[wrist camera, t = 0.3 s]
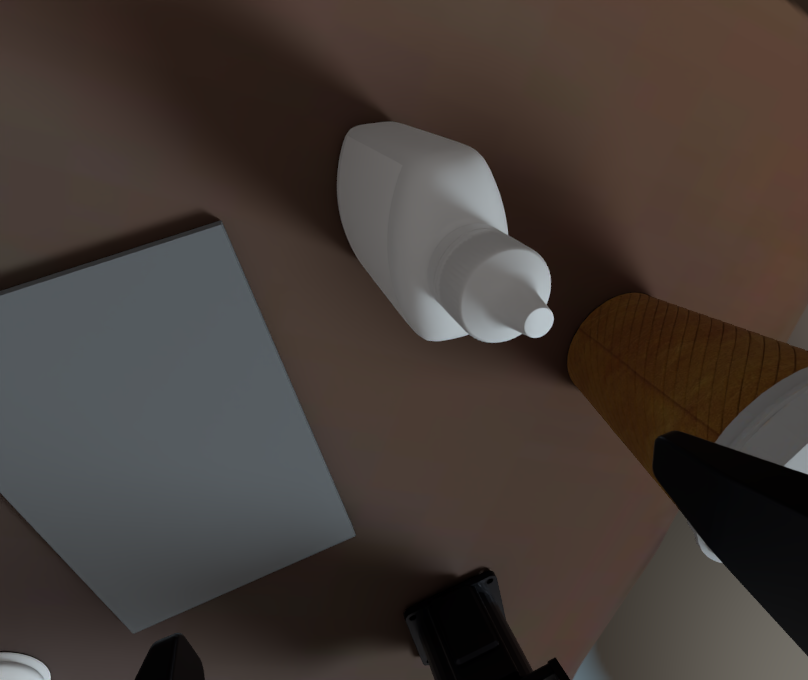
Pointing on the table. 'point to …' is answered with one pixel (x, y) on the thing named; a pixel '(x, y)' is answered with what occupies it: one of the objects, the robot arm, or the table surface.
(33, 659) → the chess piece
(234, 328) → the slate mat
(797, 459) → the disposable coffee cup
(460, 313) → the eye dropper bottle
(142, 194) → the table surface
